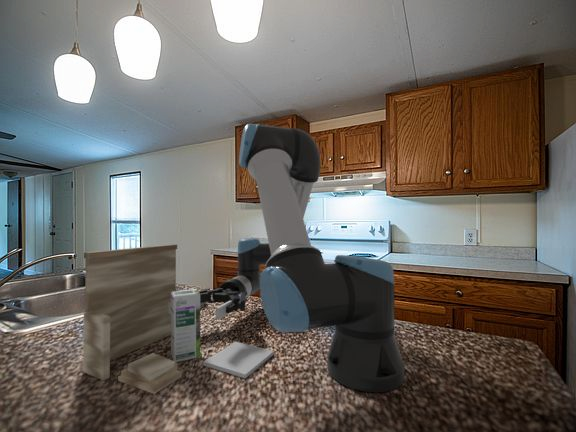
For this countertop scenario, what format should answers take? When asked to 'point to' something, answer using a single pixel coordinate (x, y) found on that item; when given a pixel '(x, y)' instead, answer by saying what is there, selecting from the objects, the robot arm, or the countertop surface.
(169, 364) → the offcut stack
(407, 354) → the countertop surface
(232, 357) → the mat
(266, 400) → the countertop surface
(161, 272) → the wood grain panel
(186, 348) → the syrup box
